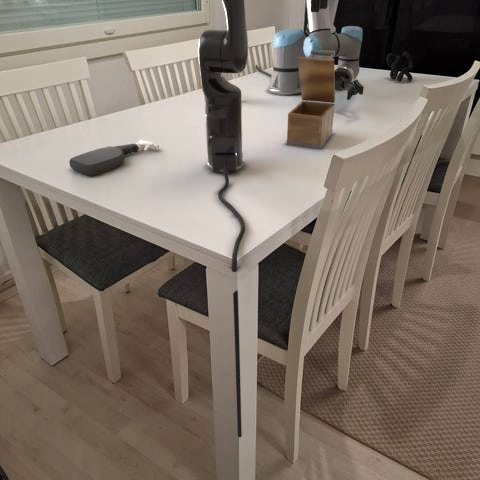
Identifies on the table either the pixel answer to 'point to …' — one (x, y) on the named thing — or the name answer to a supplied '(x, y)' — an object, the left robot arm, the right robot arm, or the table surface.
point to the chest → (310, 124)
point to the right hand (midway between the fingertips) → (327, 93)
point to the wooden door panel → (317, 77)
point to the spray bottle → (106, 157)
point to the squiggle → (399, 66)
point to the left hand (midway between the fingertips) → (319, 10)
